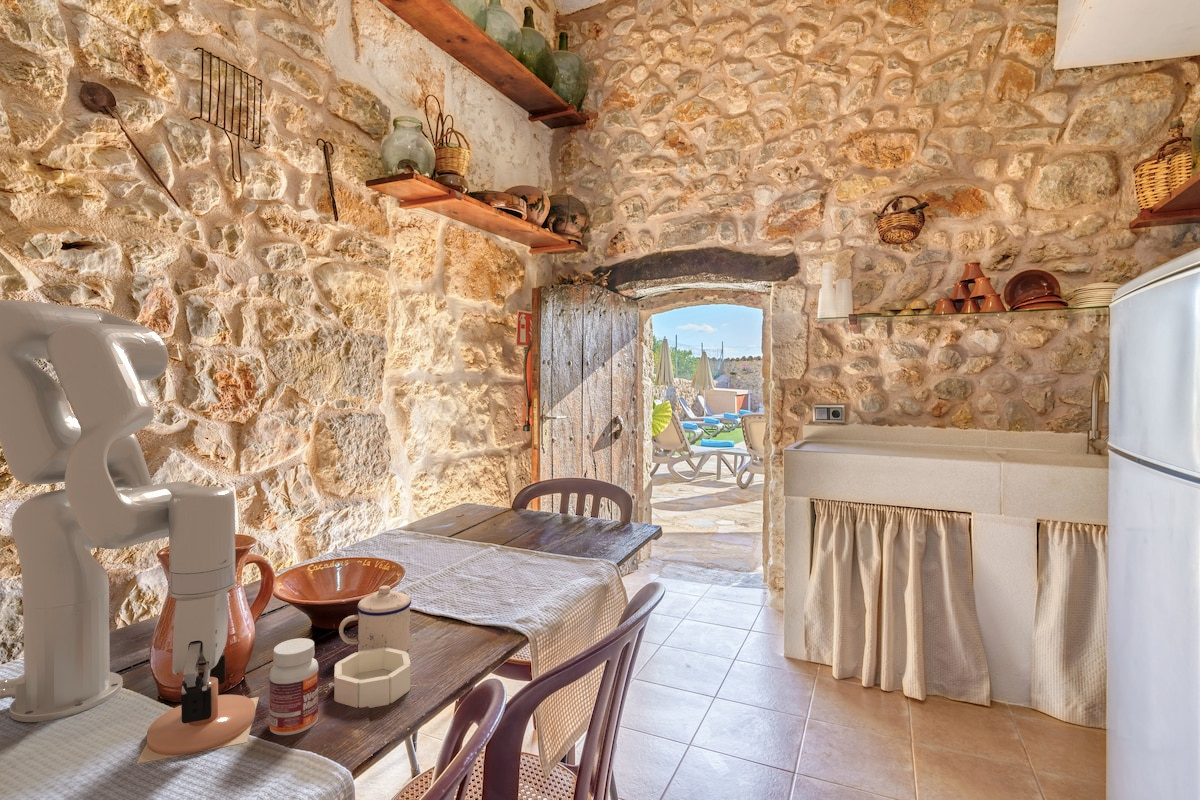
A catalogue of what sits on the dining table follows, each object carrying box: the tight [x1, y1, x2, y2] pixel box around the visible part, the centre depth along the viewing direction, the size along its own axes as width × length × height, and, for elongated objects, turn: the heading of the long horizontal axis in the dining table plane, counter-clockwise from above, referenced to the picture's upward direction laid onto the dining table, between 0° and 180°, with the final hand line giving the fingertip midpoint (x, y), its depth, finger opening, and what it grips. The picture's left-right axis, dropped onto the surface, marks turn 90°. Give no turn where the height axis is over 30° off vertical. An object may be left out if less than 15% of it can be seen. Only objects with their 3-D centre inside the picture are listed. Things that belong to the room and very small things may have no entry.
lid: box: [146, 677, 256, 756], centre depth 82 cm, size 12×12×6 cm
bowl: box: [333, 647, 412, 709], centre depth 93 cm, size 11×11×4 cm
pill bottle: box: [268, 637, 319, 736], centre depth 83 cm, size 6×6×11 cm
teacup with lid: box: [338, 585, 412, 653], centre depth 105 cm, size 12×9×12 cm
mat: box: [136, 696, 260, 765], centre depth 82 cm, size 12×12×1 cm
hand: (205, 701), depth 82 cm, fingers open, 9 cm apart
